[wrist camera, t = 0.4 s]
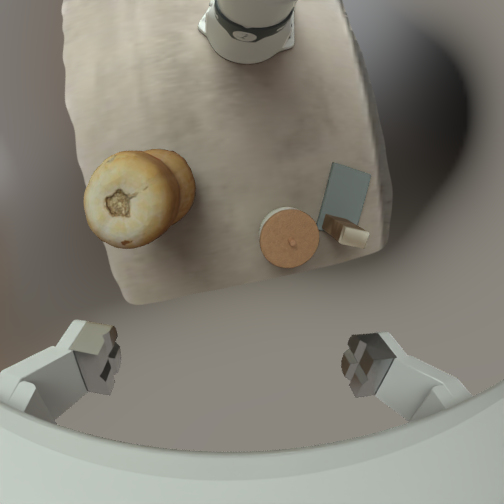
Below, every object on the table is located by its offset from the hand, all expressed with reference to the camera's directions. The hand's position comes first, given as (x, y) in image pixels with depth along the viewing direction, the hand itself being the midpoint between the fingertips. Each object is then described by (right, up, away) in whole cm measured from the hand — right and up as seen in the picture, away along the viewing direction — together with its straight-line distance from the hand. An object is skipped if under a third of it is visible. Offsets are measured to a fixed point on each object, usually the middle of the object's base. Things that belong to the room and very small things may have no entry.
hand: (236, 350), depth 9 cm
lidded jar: (+6, +8, +47) cm, 48 cm away
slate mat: (+19, +14, +46) cm, 52 cm away
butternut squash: (-16, +16, +41) cm, 47 cm away
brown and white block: (+17, +9, +47) cm, 51 cm away
